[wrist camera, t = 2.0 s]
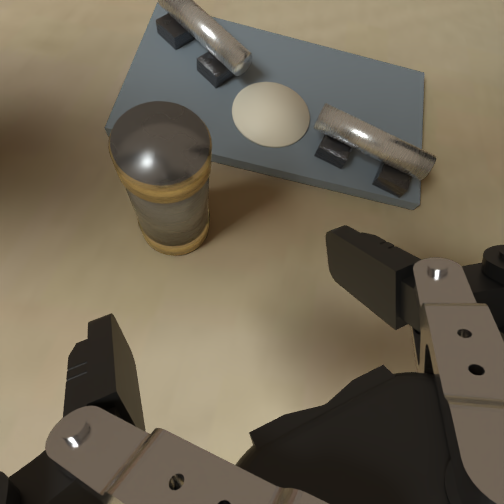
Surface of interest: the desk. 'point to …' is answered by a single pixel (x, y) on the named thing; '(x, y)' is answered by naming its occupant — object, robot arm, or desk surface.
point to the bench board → (282, 105)
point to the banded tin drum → (165, 173)
